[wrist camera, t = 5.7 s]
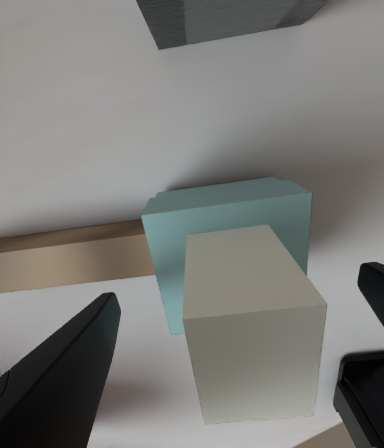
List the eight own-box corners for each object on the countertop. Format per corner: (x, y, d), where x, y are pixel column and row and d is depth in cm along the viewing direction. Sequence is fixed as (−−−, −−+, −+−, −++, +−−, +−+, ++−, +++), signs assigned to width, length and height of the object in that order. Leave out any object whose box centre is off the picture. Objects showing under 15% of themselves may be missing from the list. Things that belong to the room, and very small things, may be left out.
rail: (277, 201, 12) (291, 214, 11) (276, 240, 13) (290, 258, 12) (-16, 240, 14) (-48, 259, 12) (3, 274, 14) (-24, 295, 13)
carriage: (274, 170, 11) (415, 253, 4) (274, 269, 14) (364, 431, 7) (156, 187, 12) (99, 290, 5) (176, 280, 14) (159, 446, 7)
